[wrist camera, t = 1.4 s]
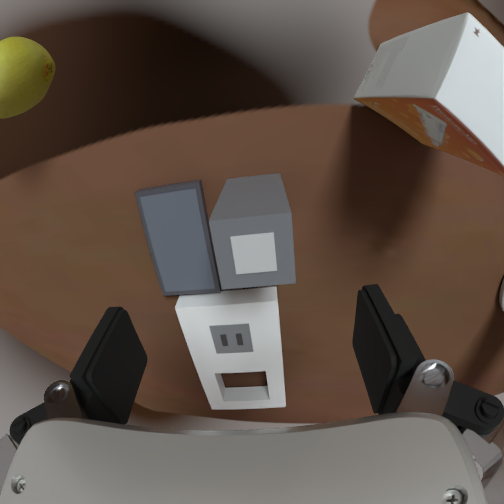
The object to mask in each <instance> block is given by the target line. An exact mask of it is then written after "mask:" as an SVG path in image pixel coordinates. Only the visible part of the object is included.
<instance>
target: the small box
mask: <svg viewBox="0 0 504 504" xmlns="http://www.w3.org/2000/svg"><path fill="white" fill-rule="evenodd" d="M354 99H355V100H357V101H359V102H360V103H362V104H364V105H366V106H368V107H369V108H371V109H373V110H374V111H376V112H378V113H379V114H381V115H382V116H384V117H385V118H387V119H388V120H390V121H391V122H393V123H394V124H396V125H397V126H399V127H400V128H401V129H403V130H404V131H406V132H407V133H408V134H410V135H411V136H412V137H414V138H415V139H416V140H418V141H419V142H420V143H421V144H424V145H427V146H430V147H432V148H435V149H438V150H441V151H444V152H447V153H449V154H452V155H455V156H457V157H460V158H462V159H465V160H467V161H470V162H472V163H475V164H477V165H479V166H482V167H484V168H486V169H489V170H491V171H493V172H495V173H497V174H499V175H502V176H504V47H503V46H502V45H501V44H500V43H499V42H498V41H497V40H496V39H495V38H494V37H493V36H492V35H491V34H490V32H489V31H488V30H487V29H486V28H485V27H483V26H482V25H481V24H480V23H479V22H478V21H477V20H476V19H475V18H474V17H473V16H472V15H471V14H470V13H464V14H461V15H458V16H454V17H451V18H448V19H445V20H442V21H439V22H436V23H433V24H430V25H427V26H425V27H422V28H419V29H416V30H414V31H411V32H408V33H405V34H403V35H400V36H398V37H396V38H393V39H391V40H389V41H386V42H384V43H381V44H380V46H379V48H378V50H377V52H376V54H375V56H374V58H373V60H372V62H371V64H370V67H369V69H368V71H367V73H366V75H365V77H364V79H363V81H362V83H361V85H360V86H359V88H358V90H357V92H356V94H355V96H354Z"/></svg>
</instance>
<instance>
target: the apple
mask: <svg viewBox="0 0 504 504" xmlns="http://www.w3.org/2000/svg"><path fill="white" fill-rule="evenodd" d="M54 74H55V64H54V62H53V60H52V58H51V56H50V55H49V53H48V52H47V51H46V50H45V49H44V48H43V47H42V46H41V45H39V44H38V43H36V42H34V41H32V40H30V39H27V38H23V37H9V38H6V39H4V40H1V41H0V118H8V117H13V116H16V115H19V114H22V113H24V112H26V111H27V110H29V109H31V108H32V107H34V106H35V105H37V104H38V103H39V102H40V101H41V100H42V99H43V98H44V96H45V95H46V93H47V91H48V89H49V86H50V85H51V82H52V80H53V77H54Z"/></svg>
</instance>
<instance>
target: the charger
mask: <svg viewBox="0 0 504 504" xmlns="http://www.w3.org/2000/svg"><path fill="white" fill-rule="evenodd" d="M209 225H210V231H211V236H212V241H213V246H214V252H215V257H216V262H217V267H218V272H219V277H220V282H221V287H222V289H235V288H247V287H259V286H271V285H282V284H292V283H296V279H295V261H294V245H293V230H292V216H291V210H290V206H289V203H288V199H287V196H286V193H285V189H284V186H283V182H282V179H281V176H280V173H278V174H267V175H257V176H248V177H239V178H231V179H227V181H226V183H225V185H224V187H223V190H222V192H221V194H220V196H219V199H218V201H217V203H216V205H215V208H214V210H213V212H212V215H211V217H210V219H209Z"/></svg>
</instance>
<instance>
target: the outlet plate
mask: <svg viewBox="0 0 504 504" xmlns="http://www.w3.org/2000/svg"><path fill="white" fill-rule="evenodd" d="M175 309H176V312H177V316H178V319H179V322H180V325H181V328H182V331H183V334H184V336H185V339H186V342H187V345H188V348H189V351H190V354H191V356H192V359H193V362H194V365H195V367H196V370H197V373H198V375H199V378H200V380H201V383H202V386H203V388H204V391H205V393H206V396H207V398H208V401H209V403H210V406H211V408H212V409H257V408H275V407H286V400H285V385H284V371H283V358H282V346H281V334H280V322H279V310H278V299H277V288H276V287H265V288H254V289H242V290H229V291H220V292H214V293H200V294H184V295H180V296H179V298H178V301H177V304H176V306H175ZM260 371H266V377H267V384H268V386H256V387H232V388H225V385H224V382H223V379H222V376H221V373H241V372H260Z"/></svg>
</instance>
